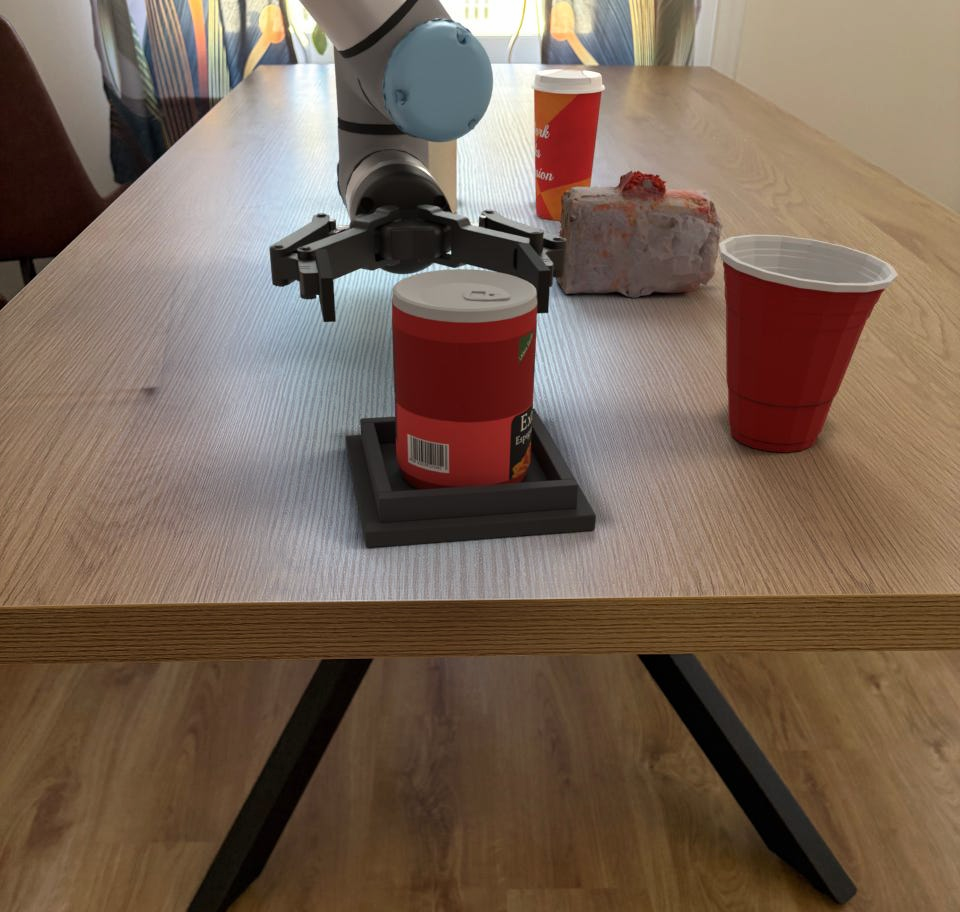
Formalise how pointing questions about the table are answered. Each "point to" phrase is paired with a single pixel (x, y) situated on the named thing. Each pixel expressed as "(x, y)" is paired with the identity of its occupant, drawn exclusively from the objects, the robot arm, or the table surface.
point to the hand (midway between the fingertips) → (437, 296)
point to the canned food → (463, 377)
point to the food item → (638, 238)
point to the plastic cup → (792, 332)
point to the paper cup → (564, 134)
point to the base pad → (461, 495)
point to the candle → (445, 168)
